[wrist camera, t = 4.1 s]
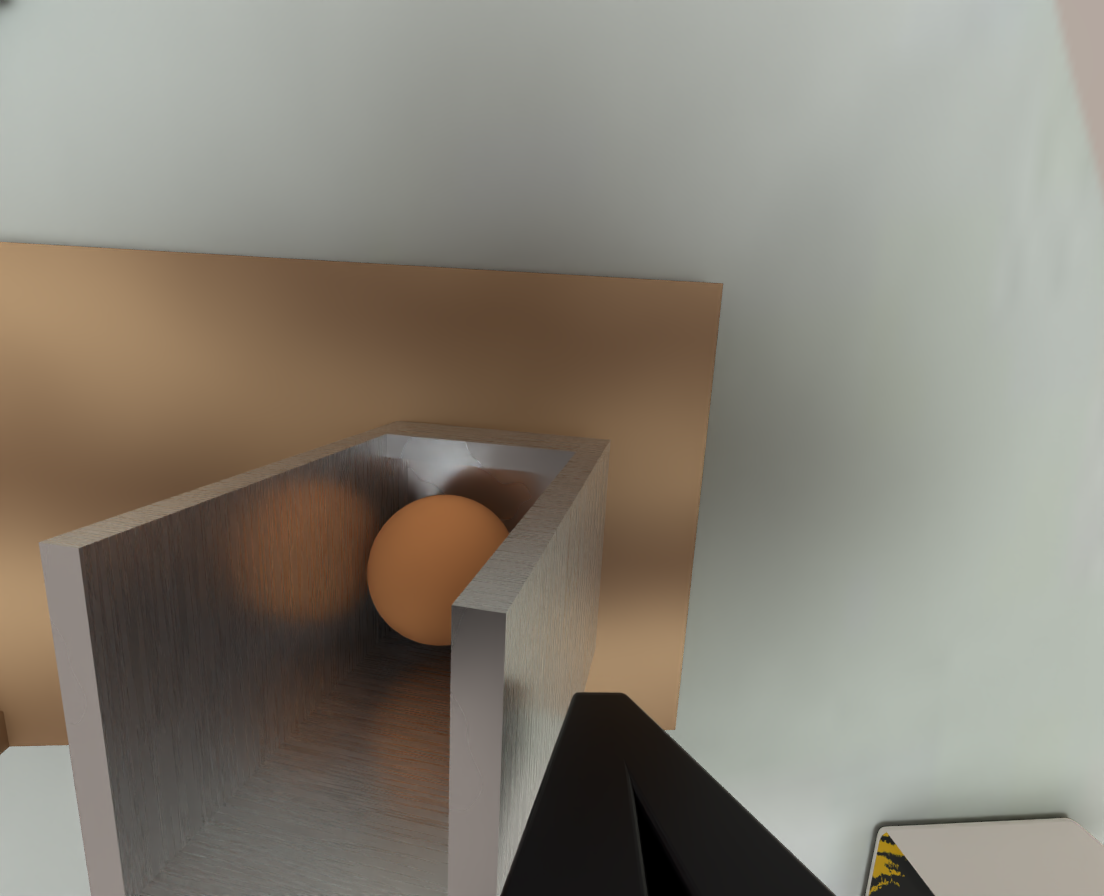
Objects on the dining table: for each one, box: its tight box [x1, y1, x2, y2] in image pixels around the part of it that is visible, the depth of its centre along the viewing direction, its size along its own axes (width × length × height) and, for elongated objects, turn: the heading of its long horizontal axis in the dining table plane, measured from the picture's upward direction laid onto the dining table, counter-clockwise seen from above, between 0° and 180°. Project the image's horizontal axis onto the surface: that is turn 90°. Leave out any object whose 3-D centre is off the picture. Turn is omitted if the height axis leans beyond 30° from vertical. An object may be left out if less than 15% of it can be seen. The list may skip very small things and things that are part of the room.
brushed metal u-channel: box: [39, 421, 610, 896], centre depth 10 cm, size 5×5×8 cm
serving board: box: [0, 242, 723, 754], centre depth 13 cm, size 12×28×4 cm, turn 87°
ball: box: [367, 495, 509, 646], centre depth 12 cm, size 3×3×3 cm
